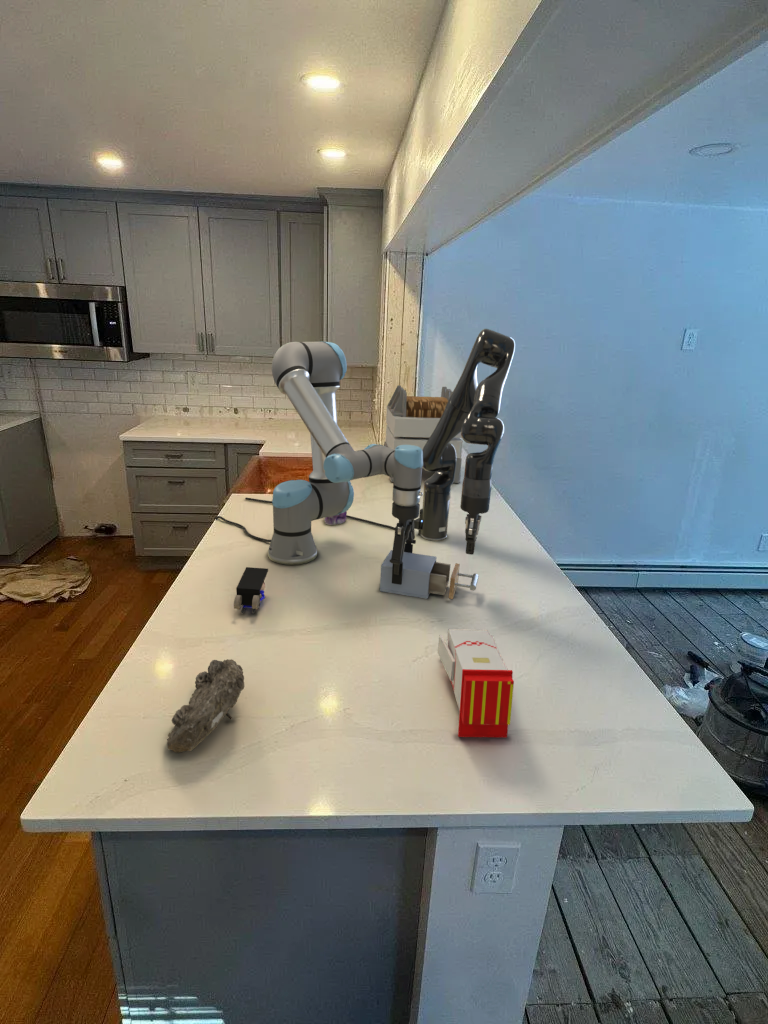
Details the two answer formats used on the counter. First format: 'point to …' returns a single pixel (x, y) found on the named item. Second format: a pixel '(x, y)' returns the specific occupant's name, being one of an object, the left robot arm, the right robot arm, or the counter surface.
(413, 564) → the cabinet
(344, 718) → the counter surface
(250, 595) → the black wheeled rover
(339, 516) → the figurine
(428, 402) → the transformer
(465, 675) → the toy
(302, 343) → the left robot arm
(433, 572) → the drawer
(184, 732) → the fossil
